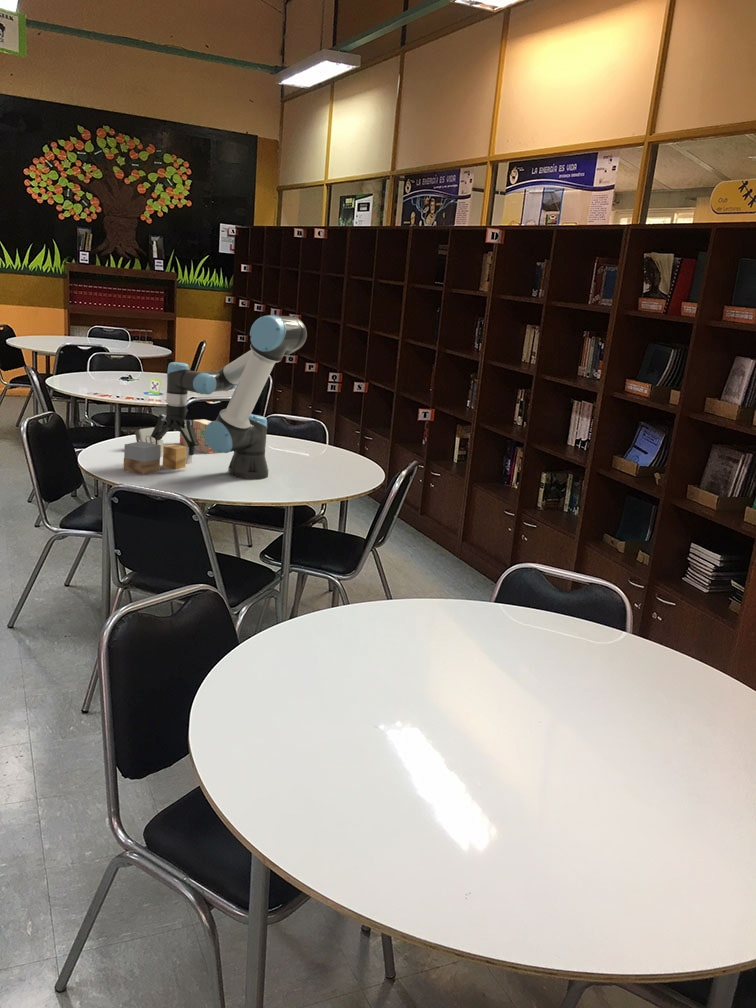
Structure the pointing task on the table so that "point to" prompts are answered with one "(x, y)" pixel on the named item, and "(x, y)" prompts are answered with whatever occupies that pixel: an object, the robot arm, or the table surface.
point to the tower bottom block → (141, 466)
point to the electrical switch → (145, 435)
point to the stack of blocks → (199, 436)
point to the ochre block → (174, 457)
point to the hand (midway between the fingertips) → (173, 460)
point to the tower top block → (142, 451)
